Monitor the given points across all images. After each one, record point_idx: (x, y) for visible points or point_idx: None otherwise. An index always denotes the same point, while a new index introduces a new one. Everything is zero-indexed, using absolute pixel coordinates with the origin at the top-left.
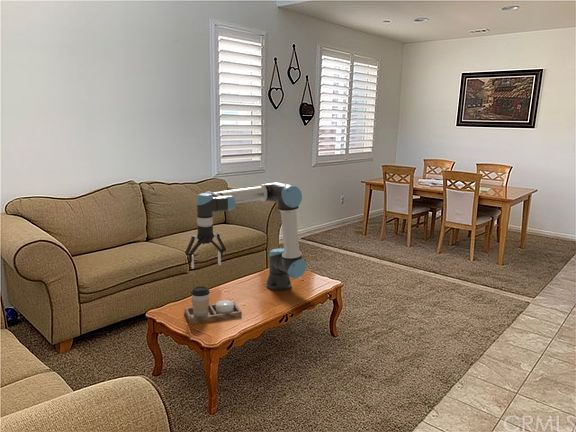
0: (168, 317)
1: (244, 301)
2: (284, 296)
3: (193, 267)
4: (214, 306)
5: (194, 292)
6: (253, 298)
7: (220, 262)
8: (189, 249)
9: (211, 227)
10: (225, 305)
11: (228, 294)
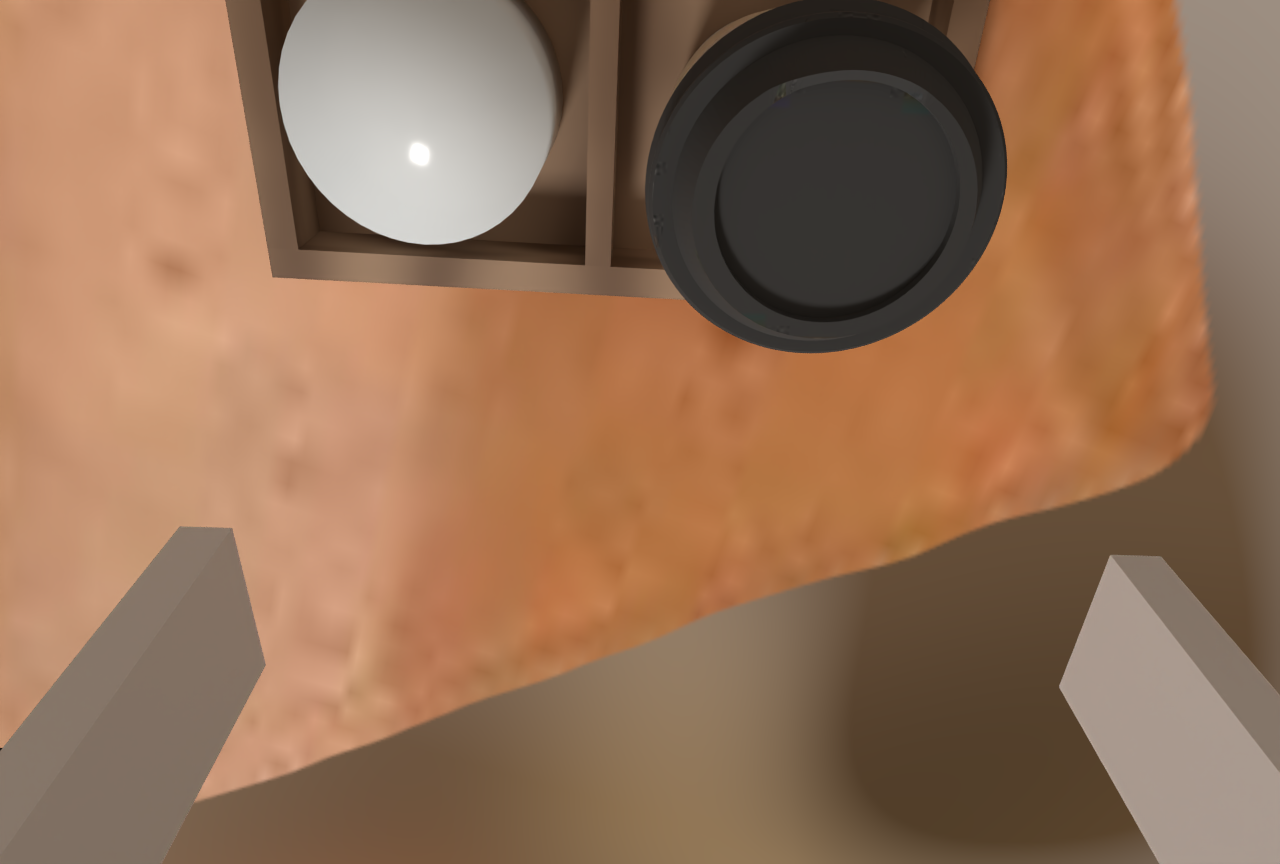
0: (1089, 271)
1: (160, 365)
2: None
3: (1147, 578)
4: (546, 255)
5: (976, 137)
6: (47, 403)
7: (139, 596)
8: None
9: None
10: (415, 43)
11: (319, 578)
